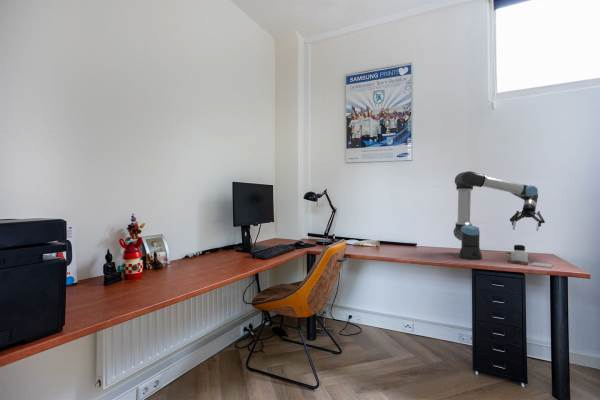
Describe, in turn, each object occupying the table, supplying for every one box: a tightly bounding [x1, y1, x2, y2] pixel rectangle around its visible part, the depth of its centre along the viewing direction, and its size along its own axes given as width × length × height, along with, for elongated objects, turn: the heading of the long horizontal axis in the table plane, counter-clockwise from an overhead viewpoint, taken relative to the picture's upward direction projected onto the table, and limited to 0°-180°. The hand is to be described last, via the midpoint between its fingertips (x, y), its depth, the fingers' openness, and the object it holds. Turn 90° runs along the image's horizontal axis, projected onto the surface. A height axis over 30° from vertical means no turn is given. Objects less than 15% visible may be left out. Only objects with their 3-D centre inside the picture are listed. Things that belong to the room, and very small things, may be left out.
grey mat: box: [530, 262, 554, 269], centre depth 194 cm, size 10×10×1 cm
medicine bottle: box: [510, 244, 529, 263], centre depth 203 cm, size 7×7×12 cm
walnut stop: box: [507, 259, 529, 266], centre depth 200 cm, size 11×1×2 cm, turn 42°
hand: (525, 229), depth 212 cm, fingers open, 13 cm apart
